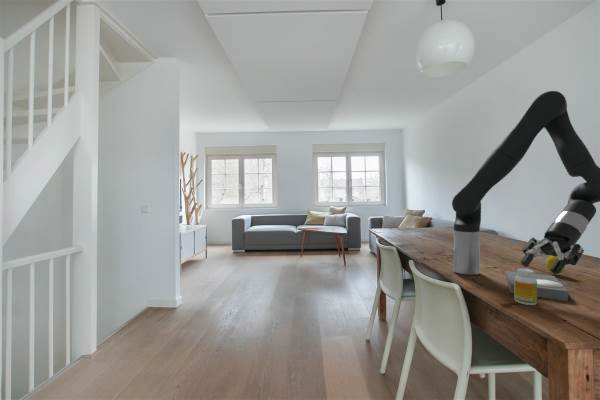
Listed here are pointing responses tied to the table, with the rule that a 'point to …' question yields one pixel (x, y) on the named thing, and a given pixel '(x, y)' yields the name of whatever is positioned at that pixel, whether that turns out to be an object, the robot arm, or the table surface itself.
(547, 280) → the plinth
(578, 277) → the table surface
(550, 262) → the lemon
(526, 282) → the supplement bottle
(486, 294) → the table surface
